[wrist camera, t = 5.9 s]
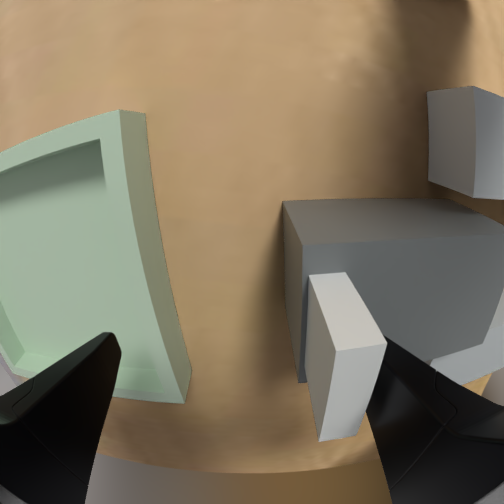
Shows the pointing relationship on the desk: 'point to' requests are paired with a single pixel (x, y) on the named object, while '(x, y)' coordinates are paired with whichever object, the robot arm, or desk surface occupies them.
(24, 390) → the robot arm
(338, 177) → the desk surface
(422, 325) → the grey block with handle
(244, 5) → the desk surface
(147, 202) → the tray
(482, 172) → the bay housing
